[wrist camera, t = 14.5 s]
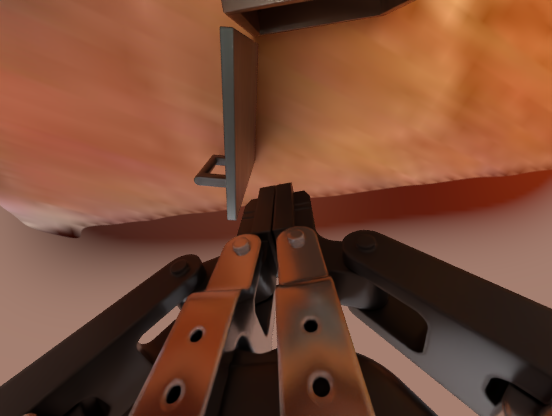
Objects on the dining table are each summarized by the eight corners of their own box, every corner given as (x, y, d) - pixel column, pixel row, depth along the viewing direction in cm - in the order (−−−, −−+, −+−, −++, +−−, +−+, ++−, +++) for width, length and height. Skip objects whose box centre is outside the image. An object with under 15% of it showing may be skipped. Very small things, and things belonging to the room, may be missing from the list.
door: (219, 159, 41) (181, 216, 26) (213, 39, 32) (148, 19, 17) (254, 162, 41) (236, 220, 26) (258, 43, 32) (233, 27, 17)
